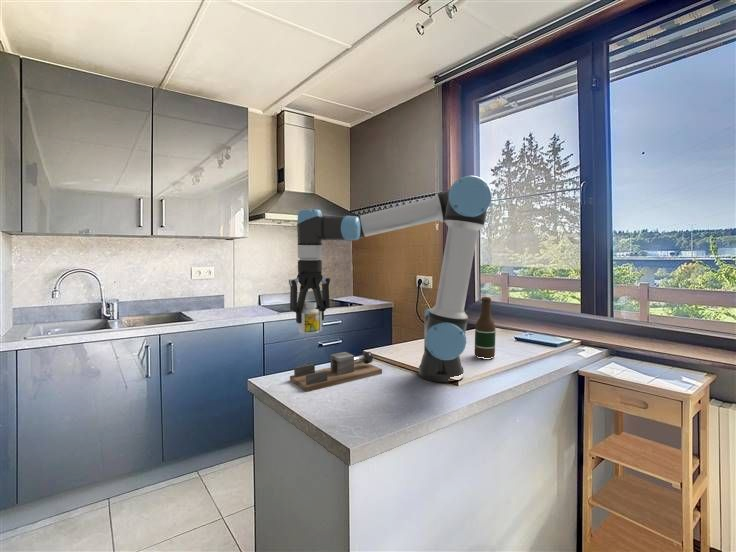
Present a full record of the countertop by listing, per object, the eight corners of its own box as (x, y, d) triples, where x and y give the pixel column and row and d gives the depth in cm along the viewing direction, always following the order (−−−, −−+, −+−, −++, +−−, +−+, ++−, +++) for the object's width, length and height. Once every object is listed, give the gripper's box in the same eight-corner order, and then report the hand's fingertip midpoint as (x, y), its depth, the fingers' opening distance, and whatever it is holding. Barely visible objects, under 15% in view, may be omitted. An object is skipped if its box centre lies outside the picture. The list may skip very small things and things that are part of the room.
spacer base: (382, 373, 135) (382, 353, 134) (306, 391, 118) (306, 368, 117) (362, 364, 145) (362, 345, 144) (289, 380, 128) (289, 359, 127)
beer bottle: (495, 360, 150) (497, 299, 148) (475, 359, 152) (476, 298, 150) (493, 354, 158) (495, 296, 156) (473, 353, 159) (475, 295, 157)
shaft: (372, 364, 137) (372, 352, 137) (340, 371, 130) (340, 359, 129) (366, 361, 140) (366, 350, 140) (334, 368, 133) (334, 356, 132)
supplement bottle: (321, 331, 126) (321, 302, 125) (314, 335, 121) (314, 304, 120) (306, 330, 127) (306, 301, 127) (298, 333, 122) (298, 303, 121)
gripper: (329, 258, 130) (329, 326, 132) (277, 259, 120) (278, 333, 122) (341, 259, 124) (341, 330, 126) (287, 260, 114) (288, 338, 116)
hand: (310, 331), depth 124 cm, fingers closed on supplement bottle, 5 cm apart
